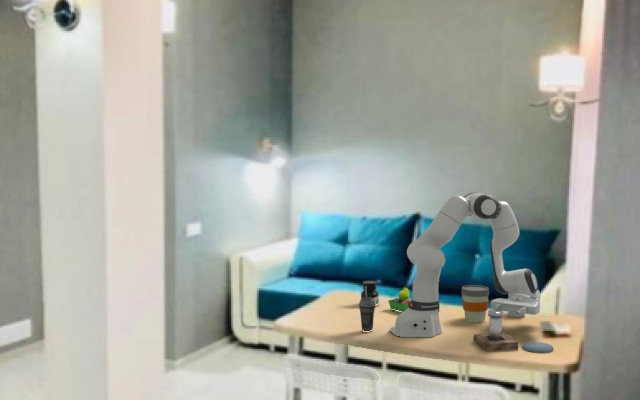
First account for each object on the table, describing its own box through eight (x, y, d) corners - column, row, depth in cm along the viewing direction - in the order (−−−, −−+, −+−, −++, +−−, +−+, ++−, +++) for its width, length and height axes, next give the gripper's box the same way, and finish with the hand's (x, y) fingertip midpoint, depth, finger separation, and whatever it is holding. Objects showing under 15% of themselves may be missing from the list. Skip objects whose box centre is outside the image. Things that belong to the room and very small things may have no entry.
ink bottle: (373, 308, 352) (373, 284, 350) (357, 306, 356) (357, 283, 355) (382, 304, 360) (381, 281, 359) (366, 302, 364) (366, 279, 363)
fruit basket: (387, 310, 347) (387, 288, 346) (399, 307, 353) (399, 285, 352) (405, 315, 339) (405, 291, 338) (416, 311, 345) (416, 288, 344)
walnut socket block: (485, 351, 282) (485, 344, 281) (473, 341, 295) (473, 334, 295) (518, 349, 284) (518, 342, 283) (504, 339, 297) (504, 332, 297)
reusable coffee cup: (479, 315, 336) (480, 284, 335) (494, 321, 325) (494, 289, 323) (456, 317, 333) (456, 286, 331) (470, 324, 321) (470, 291, 319)
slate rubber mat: (530, 353, 278) (530, 351, 278) (517, 344, 290) (517, 342, 290) (558, 351, 279) (558, 350, 279) (544, 343, 291) (544, 341, 291)
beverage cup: (363, 334, 307) (363, 289, 305) (356, 330, 314) (355, 286, 312) (378, 332, 310) (378, 287, 308) (370, 328, 317) (370, 284, 315)
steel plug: (491, 348, 286) (491, 314, 285) (485, 343, 292) (485, 310, 290) (505, 347, 287) (505, 313, 285) (499, 342, 293) (499, 309, 291)
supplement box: (525, 317, 331) (525, 290, 330) (508, 316, 333) (509, 290, 332) (523, 313, 338) (524, 287, 337) (507, 312, 340) (508, 286, 339)
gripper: (497, 293, 315) (484, 300, 304) (543, 298, 303) (531, 306, 292) (497, 307, 315) (484, 314, 304) (543, 313, 303) (531, 320, 292)
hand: (508, 310), depth 298 cm, fingers open, 8 cm apart
